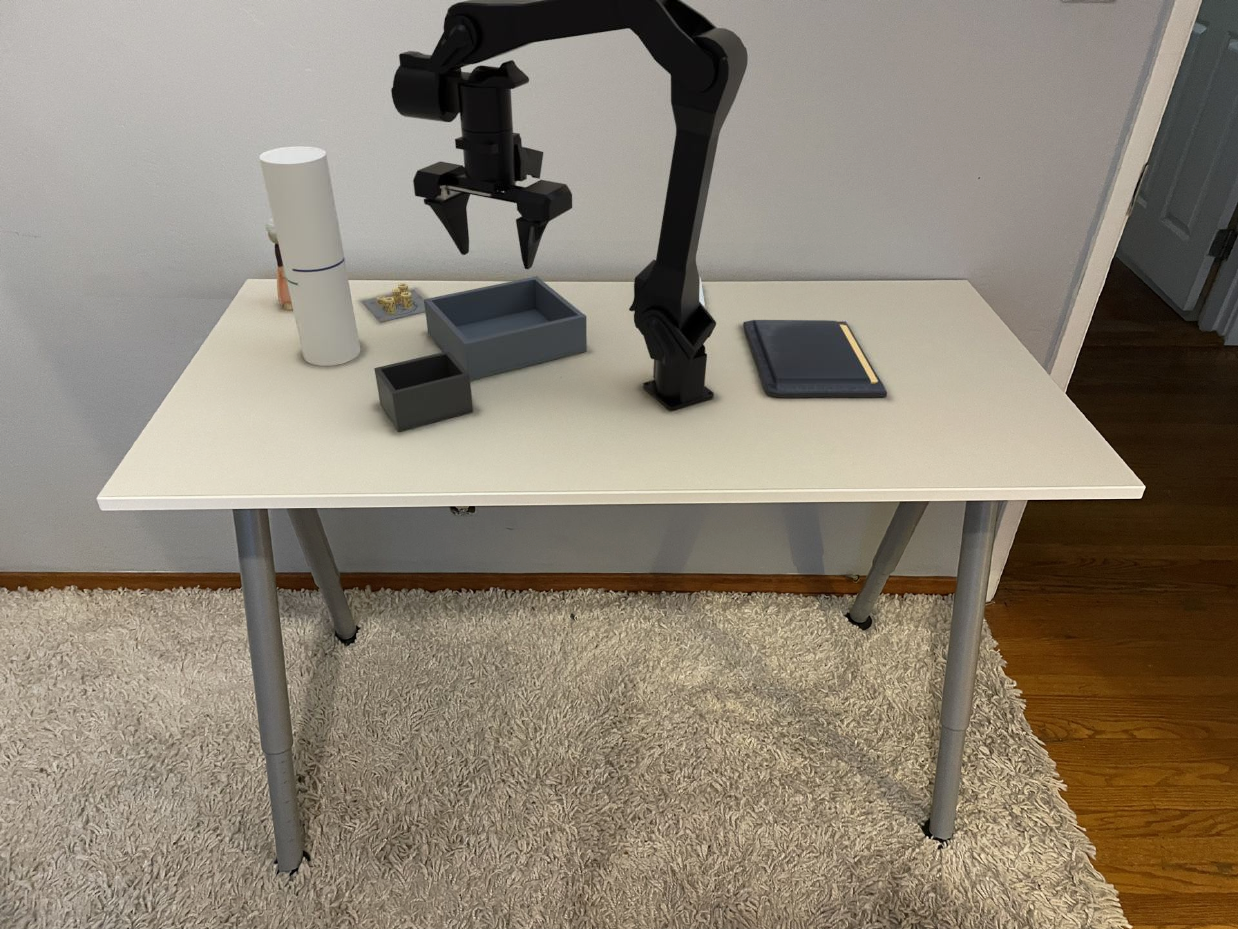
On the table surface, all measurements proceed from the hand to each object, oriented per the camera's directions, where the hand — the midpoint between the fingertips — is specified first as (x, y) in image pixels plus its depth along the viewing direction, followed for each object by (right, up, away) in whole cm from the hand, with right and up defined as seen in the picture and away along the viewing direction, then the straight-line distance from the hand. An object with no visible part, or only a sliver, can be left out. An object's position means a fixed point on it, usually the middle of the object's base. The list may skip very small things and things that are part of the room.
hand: (496, 260), depth 102 cm
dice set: (-17, -2, +19) cm, 25 cm away
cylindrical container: (-22, -10, +7) cm, 26 cm away
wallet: (+40, -11, +8) cm, 42 cm away
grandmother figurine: (-32, -2, +18) cm, 37 cm away
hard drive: (+23, -1, +21) cm, 32 cm away
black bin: (-8, -18, -4) cm, 20 cm away
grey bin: (0, -8, +10) cm, 13 cm away
